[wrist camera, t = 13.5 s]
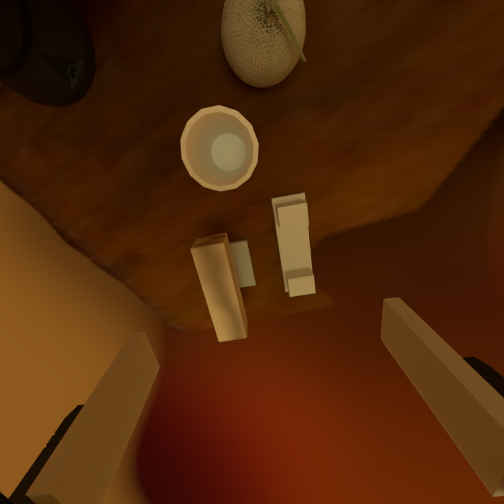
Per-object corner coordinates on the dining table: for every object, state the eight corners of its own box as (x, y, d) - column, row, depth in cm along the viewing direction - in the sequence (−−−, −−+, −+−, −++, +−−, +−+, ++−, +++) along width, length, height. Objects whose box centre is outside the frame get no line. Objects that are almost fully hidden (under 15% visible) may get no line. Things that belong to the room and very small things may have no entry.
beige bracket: (285, 289, 50) (288, 301, 46) (271, 198, 43) (273, 202, 39) (312, 285, 50) (318, 296, 46) (303, 192, 43) (309, 195, 38)
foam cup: (234, 108, 37) (226, 86, 25) (266, 158, 40) (273, 159, 28) (190, 146, 40) (164, 142, 28) (224, 191, 42) (213, 205, 30)
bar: (222, 322, 46) (219, 341, 41) (197, 237, 39) (190, 248, 34) (247, 319, 45) (246, 337, 41) (226, 232, 38) (223, 242, 34)
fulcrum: (210, 289, 50) (204, 308, 44) (197, 247, 47) (189, 261, 40) (255, 282, 50) (256, 300, 44) (246, 238, 46) (246, 251, 40)
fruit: (267, 115, 38) (277, 92, 24) (211, 57, 35) (186, -8, 21) (314, 56, 35) (357, -9, 21) (258, -13, 32) (264, -143, 18)
